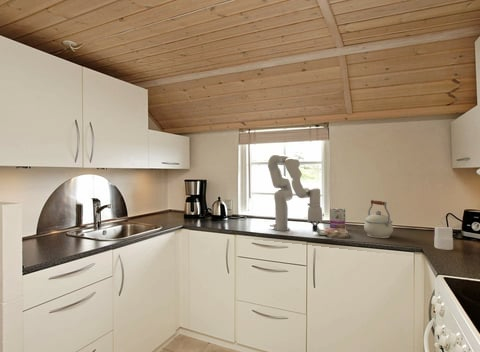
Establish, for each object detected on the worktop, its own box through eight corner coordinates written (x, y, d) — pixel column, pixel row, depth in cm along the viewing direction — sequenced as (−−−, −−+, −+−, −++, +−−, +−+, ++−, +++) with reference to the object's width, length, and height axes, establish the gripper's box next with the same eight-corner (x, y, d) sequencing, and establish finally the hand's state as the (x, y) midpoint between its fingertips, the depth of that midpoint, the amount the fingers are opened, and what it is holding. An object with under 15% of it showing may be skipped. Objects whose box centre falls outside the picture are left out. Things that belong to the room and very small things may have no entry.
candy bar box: (345, 229, 223) (345, 208, 223) (344, 230, 219) (344, 209, 219) (331, 227, 228) (331, 207, 228) (329, 228, 224) (329, 208, 224)
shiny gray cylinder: (312, 231, 214) (312, 226, 214) (312, 230, 218) (312, 225, 218) (318, 231, 213) (318, 226, 213) (318, 230, 217) (318, 225, 217)
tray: (318, 234, 196) (318, 229, 196) (317, 231, 209) (317, 226, 209) (339, 235, 193) (339, 230, 193) (336, 231, 206) (336, 227, 206)
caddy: (327, 236, 194) (327, 231, 194) (325, 232, 208) (325, 228, 208) (348, 237, 192) (348, 232, 192) (345, 233, 205) (345, 228, 205)
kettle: (401, 239, 188) (401, 202, 188) (376, 240, 185) (376, 202, 185) (377, 231, 213) (377, 198, 213) (355, 232, 210) (355, 199, 210)
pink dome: (324, 233, 198) (324, 230, 198) (323, 231, 205) (323, 228, 205) (334, 233, 197) (334, 231, 197) (333, 231, 204) (333, 229, 204)
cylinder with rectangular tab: (445, 245, 170) (445, 226, 170) (457, 249, 161) (457, 229, 161) (430, 245, 170) (430, 226, 170) (441, 249, 161) (441, 229, 161)
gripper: (304, 205, 201) (304, 231, 201) (326, 206, 198) (326, 231, 198) (304, 204, 208) (304, 229, 208) (325, 204, 205) (325, 229, 205)
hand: (315, 230), depth 203 cm, fingers closed
